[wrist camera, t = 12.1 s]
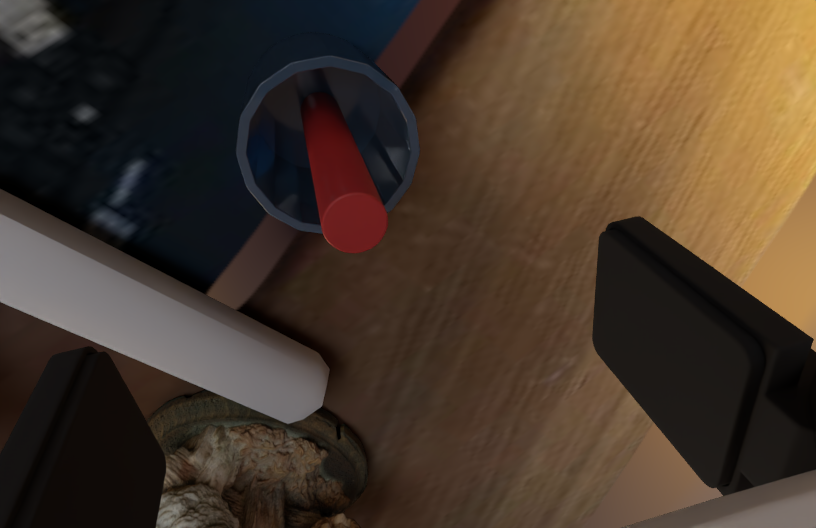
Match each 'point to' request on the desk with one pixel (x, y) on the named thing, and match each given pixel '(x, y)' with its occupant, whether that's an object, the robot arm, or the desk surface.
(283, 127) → the tumbler
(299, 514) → the owl figurine
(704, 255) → the desk surface
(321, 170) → the red cylindrical rod
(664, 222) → the desk surface
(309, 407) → the tube
